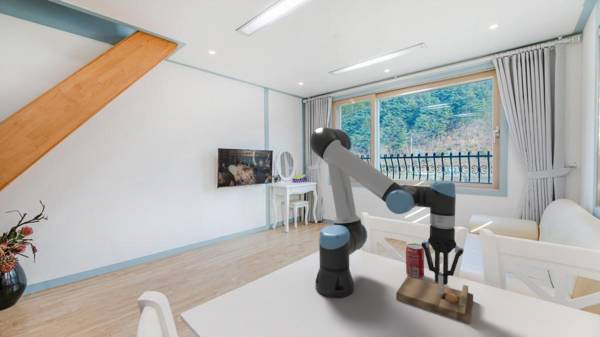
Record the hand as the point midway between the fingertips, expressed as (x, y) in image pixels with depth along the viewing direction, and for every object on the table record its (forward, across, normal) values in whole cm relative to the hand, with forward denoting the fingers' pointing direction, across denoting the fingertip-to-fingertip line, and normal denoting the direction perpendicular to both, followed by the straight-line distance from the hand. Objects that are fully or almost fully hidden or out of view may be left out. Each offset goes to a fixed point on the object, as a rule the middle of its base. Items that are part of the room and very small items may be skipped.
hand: (441, 292), depth 87 cm
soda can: (+4, -12, +16) cm, 20 cm away
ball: (+2, +3, 0) cm, 4 cm away
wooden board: (+4, -2, 0) cm, 4 cm away
